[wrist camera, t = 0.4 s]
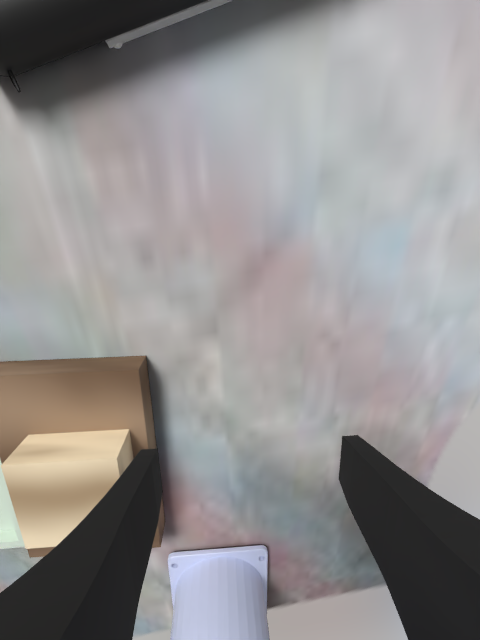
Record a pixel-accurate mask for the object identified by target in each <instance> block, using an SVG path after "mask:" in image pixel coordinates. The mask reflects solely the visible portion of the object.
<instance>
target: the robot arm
mask: <svg viewBox="0 0 480 640" xmlns="http://www.w3.org/2000/svg"><path fill="white" fill-rule="evenodd" d="M339 481H340V483H341V486H342V489H343V492H344V495H345V498H346V500H347V503H348V505H349V508H350V510H351V512H352V514H353V516H354V518H355V520H356V522H357V524H358V526H359V528H360V530H361V532H362V534H363V536H364V538H365V540H366V542H367V544H368V546H369V548H370V550H371V552H372V554H373V556H374V558H375V560H376V562H377V564H378V566H379V568H380V570H381V573H382V575H383V577H384V579H385V581H386V584H387V586H388V589H389V591H390V593H391V596H392V599H393V601H394V604H395V606H396V609H397V611H398V614H399V616H400V619H401V621H402V624H403V627H404V629H405V632H406V634H407V637H408V640H480V520H479V519H478V518H476V517H474V516H472V515H470V514H469V513H467V512H465V511H463V510H462V509H460V508H458V507H457V506H455V505H454V504H452V503H450V502H448V501H447V500H445V499H444V498H442V497H441V496H439V495H437V494H436V493H434V492H433V491H431V490H430V489H429V488H427V487H426V486H424V485H423V484H421V483H420V482H418V481H417V480H415V479H414V478H413V477H411V476H410V475H409V474H407V473H406V472H404V471H403V470H402V469H400V468H399V467H398V466H396V465H395V464H394V463H393V462H391V461H390V460H389V459H387V458H386V457H385V456H384V455H382V454H381V453H380V452H378V451H377V450H376V449H375V448H373V447H372V446H371V445H370V444H368V443H367V442H366V441H365V440H363V439H362V438H361V437H359V436H358V435H354V436H342V447H341V459H340V470H339ZM162 492H163V491H162V483H161V474H160V466H159V457H158V449H157V448H156V449H141V450H140V451H139V452H138V454H137V455H136V456H135V458H134V459H133V460H132V462H131V463H130V464H129V466H128V467H127V468H126V470H125V471H124V472H123V473H122V475H121V476H120V477H119V479H118V480H117V481H116V482H115V483H114V485H113V486H112V487H111V488H110V490H109V491H108V492H107V493H106V494H105V496H104V497H103V498H102V499H101V500H100V501H99V502H98V504H97V505H96V506H95V507H94V508H93V509H92V510H91V511H90V513H89V514H88V515H87V516H86V517H85V518H84V519H83V520H82V521H81V522H80V523H79V524H78V525H77V526H76V527H75V528H74V529H73V530H72V531H71V532H70V533H69V534H68V535H67V536H66V537H65V538H64V539H63V540H62V541H61V542H60V543H59V544H58V545H57V546H56V547H55V548H54V549H53V550H51V551H50V552H49V553H48V554H47V555H46V556H45V557H43V558H42V559H41V560H40V561H39V562H38V563H37V564H35V565H34V566H33V567H32V568H31V569H30V570H29V571H27V572H26V573H25V574H24V575H23V576H21V577H20V578H19V579H18V580H16V581H15V582H14V583H13V584H11V585H10V586H9V587H7V588H6V589H5V590H4V591H2V592H1V593H0V640H132V637H133V631H134V625H135V619H136V613H137V607H138V602H139V598H140V593H141V589H142V585H143V581H144V577H145V573H146V569H147V565H148V561H149V557H150V553H151V549H152V545H153V541H154V537H155V533H156V529H157V525H158V520H159V514H160V507H161V499H162ZM267 564H268V552H267V547H266V546H264V545H256V546H244V547H232V548H219V549H207V550H195V551H182V552H173V553H171V554H169V557H168V567H169V576H170V584H171V593H172V601H173V610H174V612H173V621H172V629H171V638H170V640H270V639H269V631H268V623H267Z"/></svg>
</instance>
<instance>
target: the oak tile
mask: <svg viewBox="0 0 480 640" xmlns="http://www.w3.org/2000/svg"><path fill="white" fill-rule="evenodd" d="M133 459H134V458H133V451H132V444H131V437H130V430H129V429H123V430H105V431H88V432H70V433H52V434H34V435H28V436H27V437H26V438H25V439H24V440H23V441H22V442H21V443H20V445H19V446H18V447H17V448H16V449H15V450H14V451H13V452H12V454H11V455H10V456H9V457H8V458H7V459H6V460H5V461H4V462H3V464H2V465H1V468H2V472H3V475H4V478H5V482H6V485H7V488H8V491H9V495H10V498H11V501H12V505H13V508H14V511H15V515H16V518H17V521H18V525H19V528H20V531H21V535H22V538H23V541H24V545H25V548H26V549H31V548H44V547H56V546H57V545H58V544H59V543H60V542H61V541H62V540H63V539H64V538H65V537H66V536H67V535H68V534H69V533H70V532H71V531H72V530H73V529H74V528H75V527H76V526H77V525H78V524H79V523H80V522H81V521H82V520H83V519H84V518H85V517H86V516H87V515H88V514H89V513H90V511H91V510H92V509H93V508H94V507H95V506H96V505H97V504H98V502H99V501H100V500H101V499H102V498H103V497H104V496H105V494H106V493H107V492H108V491H109V490H110V488H111V487H112V486H113V485H114V483H115V482H116V481H117V480H118V479H119V477H120V476H121V475H122V473H123V472H124V471H125V470H126V468H127V467H128V466H129V464H130V463H131V462H132V460H133Z"/></svg>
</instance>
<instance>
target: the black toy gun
mask: <svg viewBox="0 0 480 640" xmlns="http://www.w3.org/2000/svg"><path fill="white" fill-rule="evenodd" d="M230 1H233V0H0V75H2V76H9V77H10V79H11V81H12V79H13V81H12V83H13V82H14V83H13V84H15V85H14V86H16V88H17V90H18V92H21V90H20V88H19V86H18V84H17V81H16V79H15V77H14V75H18V74H20V73H23V72H26V71H28V70H31V69H33V68H36V67H38V66H41V65H44V64H46V63H49V62H51V61H54V60H56V59H59V58H61V57H64V56H67V55H69V54H72V53H74V52H77V51H79V50H82V49H85V48H87V47H90V46H92V45H95V44H97V43H100V42H102V41H106V43H107V45H108V46H109V48H113V47H114V48H116V49H119V48H121V47H122V45H123V43H126V42H128V41H131V40H133V39H136V38H138V37H141V36H143V35H146V34H149V33H151V32H154V31H156V30H159V29H161V28H164V27H167V26H169V25H172V24H174V23H177V22H179V21H182V20H184V19H187V18H190V17H192V16H195V15H197V14H200V13H202V12H205V11H207V10H210V9H213V8H215V7H218V6H220V5H223V4H225V3H228V2H230ZM11 77H12V78H11Z"/></svg>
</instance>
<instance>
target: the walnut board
mask: <svg viewBox="0 0 480 640" xmlns="http://www.w3.org/2000/svg"><path fill="white" fill-rule="evenodd" d="M123 429H129V430H130V437H131V444H132V451H133V458H135V456H136V455H137V454H138V452H139V451H140V450H141V449H156V448H157V447H156V438H155V429H154V421H153V412H152V403H151V394H150V386H149V377H148V368H147V360H146V356H128V357H104V358H80V359H56V360H32V361H8V362H0V459H1V463H2V464H3V462H4V461H5V460H6V459H7V458H8V457H9V456H10V455H11V454H12V452H13V451H14V450H15V449H16V448H17V447H18V446H19V445H20V443H21V442H22V441H23V440H24V439H25V438H26V437H27V436H28V435H34V434H52V433H70V432H88V431H105V430H123ZM164 525H165V516H164V508H163V499H161V507H160V514H159V520H158V525H157V529H156V533H155V537H154V541H153V545H152V548H155V547H161V542H162V536H163V530H164ZM54 548H55V547H44V548H31V549H27V550H28V553H29V556H30V557H42V556H46V555H47V554H48V553H49V552H50V551H51V550H53V549H54Z"/></svg>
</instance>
